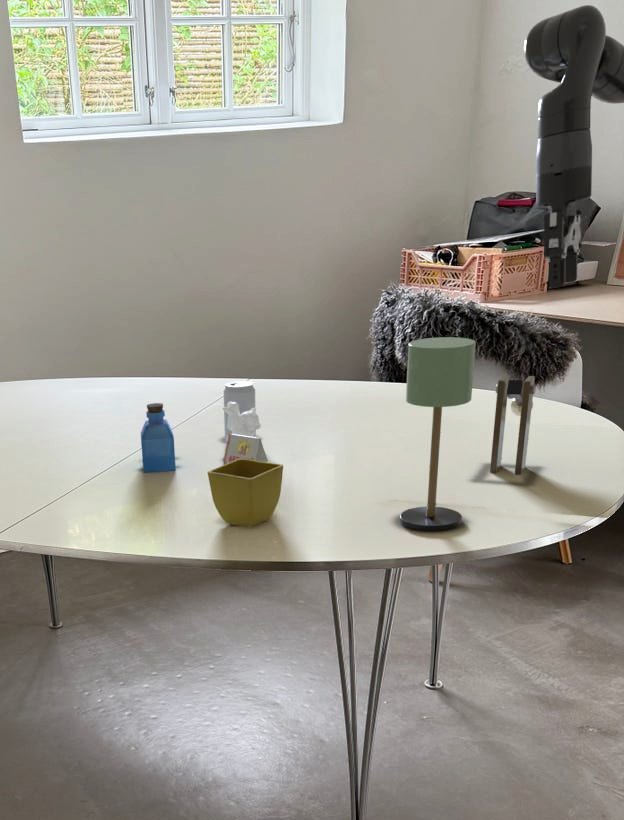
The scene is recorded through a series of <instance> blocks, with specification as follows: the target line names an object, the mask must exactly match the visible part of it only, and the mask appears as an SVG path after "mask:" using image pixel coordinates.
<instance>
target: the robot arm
mask: <svg viewBox="0 0 624 820" xmlns="http://www.w3.org/2000/svg"><path fill="white" fill-rule="evenodd" d="M523 54H524V58H525V62H526V64H527V65H528V67H529V68H530V70H531V71H532V72H533V73H534V74H535V75H536V76H538V77H540V78H542V79H545V80H548V81H550V82H555V83H559V85H558V86H555V88H553V89H552V90H550V91H548V92H547V93H545V94H544V95H542V96H541V98H540V99H539V102H538V105H537V106H538V108H537V139H538V140H537V146H536V147H537V148H536V155H535V156H536V157H535V158H536V159H535V163H536V165H535V169H536V170H535V173H536V175H535V177H536V178H535V179H536V182H535V183H536V184H535V187H536V188H535V191H536V192H535V193H536V195H535V196H536V197H535V198H536V200H535V201H536V206H537V207H538V208H545V207H546V208H547V207H550V212H548V213H544V217H543V221H544V222H543V252H542V253H543V257H544V258H545V259H546V261H547V262H548V287H549V288H550V289H552V288H561V287H564V286H565V285H566V284H567V283H574V282H576V281H577V280H578V256H579V255H580V251H581V250H582V248H583V244H582V215H583V211H582V209H581V208H577V206H576V204H577V203H578V202H581V201H587V200H589V199H590V198H591V197H592V175H593V174H592V173H593V168H592V167H593V143H592V135H591V133H592V132H591V113H592V112H591V108H592V97H593V98H594V99H596V100H598V101H600V102H602V103H606V104H613V105H614V104H615V105H617V104H618V105H619V104H624V45H623V44H622V43H621V42H620V41H618V40H617V39H615V38H613V37H612V36H609V35H607V28H606V21H605V18H604V16H603V14H602V12H601V11H600V10H599V9H598V8H597V7H595V6H594V5H592V4H591V5H590V4H586V5H581V6H578V7H575V8H572V9H570V10H567V11H564V12H561V13H559V14H556V15H553V16H550V17H547V18H544V19H543V20H540V21H539V22H537V23H536V24H535V25H533V26H532V28H531V29H530V30H529V32H528V34H527V35H526V38H525V40H524V45H523Z"/></svg>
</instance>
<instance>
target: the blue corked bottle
mask: <svg viewBox="0 0 624 820" xmlns="http://www.w3.org/2000/svg"><path fill="white" fill-rule="evenodd" d="M146 409H147V411H146V412H145V413H146V415H145V416H146V418H147V420H145V421H144V423H143V426H142V429H141V431H140V444H141V445H140V447H141V458H142V470H143V473H156V472H169V471H176V470H177V468H176V452H175V451H176V450H175V436H174V431H173V429H172V427H171V425H170V423H169V422H168V420H167V419H166V418H165V419H164V417H165V416H166V415H165V414H166V412H165V410H164V403H161V402H153V403H148V404H146Z"/></svg>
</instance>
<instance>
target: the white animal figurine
mask: <svg viewBox="0 0 624 820" xmlns="http://www.w3.org/2000/svg"><path fill="white" fill-rule="evenodd" d="M227 407H228V408H227ZM227 407H224V406H223V407H222V411H223V412H224V411H225V412H226V413H228V415H229V416H228V423H227V428H228V429H229V430H231V431H232V434H237V435H243V436H250V437H253V436H254V434H255V431H254V430H256V431H257V430H258V429H260V428H261V427H262V425H261V423H260V418H259V415H258V414H257V413H256V410H257V408H256V407H255V408H252V409H251V410H250V411H246V412H243V413H242V414H241V415H240V411H239V406H238V403H236V402H231V401H230V402H228V404H227ZM227 442H228V436H227V441H226V443H227Z"/></svg>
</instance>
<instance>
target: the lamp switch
mask: <svg viewBox="0 0 624 820" xmlns="http://www.w3.org/2000/svg"><path fill="white" fill-rule="evenodd" d="M523 388H524V380H523V379H509V382H508V388H507V399H512V400H511V403H510V410H511V412H512V413H513V414H514V415H515V416H518V417H521V407H522V398H523ZM533 407H534V401H533V400H532V409H531V411H532V410H533Z"/></svg>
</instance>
